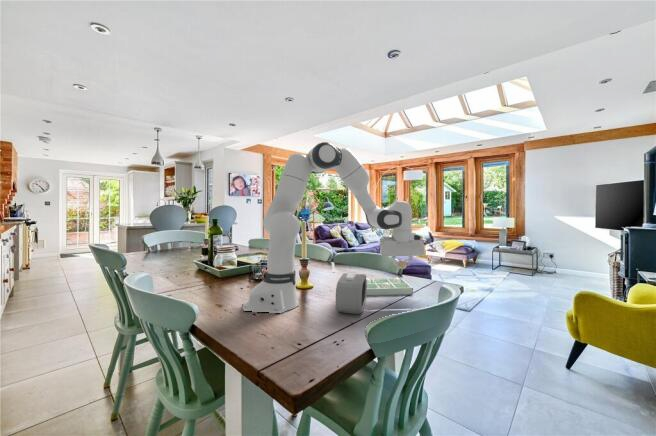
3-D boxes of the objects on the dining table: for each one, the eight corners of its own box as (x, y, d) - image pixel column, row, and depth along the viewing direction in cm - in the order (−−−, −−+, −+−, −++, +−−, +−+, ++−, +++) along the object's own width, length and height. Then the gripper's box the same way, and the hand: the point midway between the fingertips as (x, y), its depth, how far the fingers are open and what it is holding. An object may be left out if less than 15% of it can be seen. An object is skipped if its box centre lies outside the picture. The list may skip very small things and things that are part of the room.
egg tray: (362, 296, 124) (362, 288, 124) (357, 286, 139) (357, 279, 139) (412, 295, 125) (413, 287, 125) (401, 285, 141) (402, 278, 140)
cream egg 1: (363, 288, 133) (363, 279, 133) (361, 285, 138) (361, 277, 137) (372, 288, 134) (372, 279, 133) (370, 285, 138) (370, 277, 138)
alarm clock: (361, 319, 100) (361, 283, 99) (335, 316, 102) (335, 281, 102) (366, 299, 120) (367, 269, 119) (345, 298, 122) (345, 268, 122)
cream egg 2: (382, 293, 126) (382, 284, 126) (379, 290, 131) (379, 281, 130) (391, 293, 126) (391, 283, 126) (389, 290, 131) (389, 281, 131)
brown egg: (398, 270, 126) (398, 260, 126) (395, 268, 130) (395, 258, 130) (408, 270, 126) (408, 260, 126) (404, 267, 131) (404, 258, 130)
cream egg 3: (393, 288, 134) (393, 279, 134) (390, 285, 138) (391, 276, 138) (402, 287, 134) (402, 279, 134) (399, 285, 139) (399, 276, 138)
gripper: (381, 237, 124) (381, 267, 125) (426, 236, 125) (425, 266, 126) (378, 235, 130) (378, 264, 131) (420, 234, 131) (420, 263, 132)
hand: (401, 265), depth 128 cm, fingers closed on brown egg, 4 cm apart
